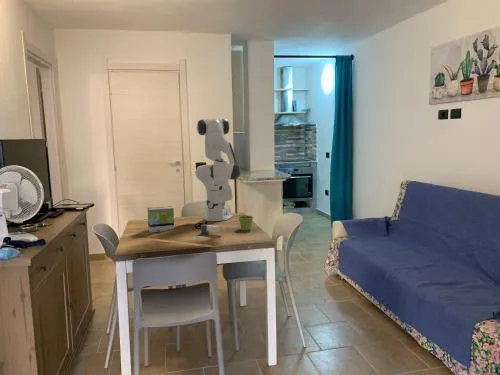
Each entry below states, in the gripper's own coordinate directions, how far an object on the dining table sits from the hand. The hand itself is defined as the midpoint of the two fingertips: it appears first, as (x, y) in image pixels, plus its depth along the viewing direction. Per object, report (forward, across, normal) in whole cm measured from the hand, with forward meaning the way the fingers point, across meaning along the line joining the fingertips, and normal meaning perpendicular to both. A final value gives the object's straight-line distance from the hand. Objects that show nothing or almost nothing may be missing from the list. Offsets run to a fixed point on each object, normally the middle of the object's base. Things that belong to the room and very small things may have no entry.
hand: (221, 209), depth 237 cm
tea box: (+15, +5, -43) cm, 46 cm away
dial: (+15, +6, -9) cm, 19 cm away
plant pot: (+15, -14, +8) cm, 22 cm away
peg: (+14, +6, -4) cm, 16 cm away
